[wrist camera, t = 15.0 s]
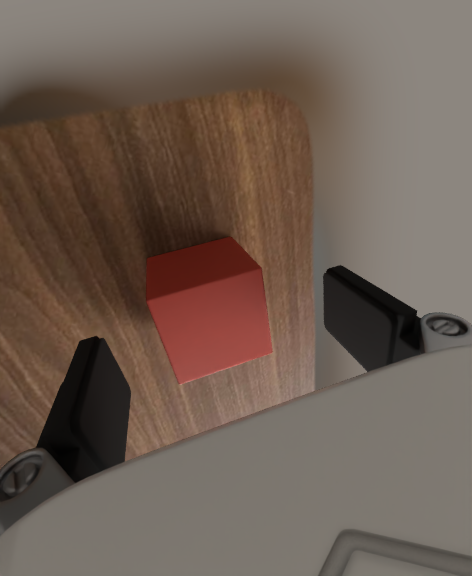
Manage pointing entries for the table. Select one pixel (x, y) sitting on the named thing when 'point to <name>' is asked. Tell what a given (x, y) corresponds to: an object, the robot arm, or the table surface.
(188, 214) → the table surface
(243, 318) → the red block
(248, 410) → the table surface
